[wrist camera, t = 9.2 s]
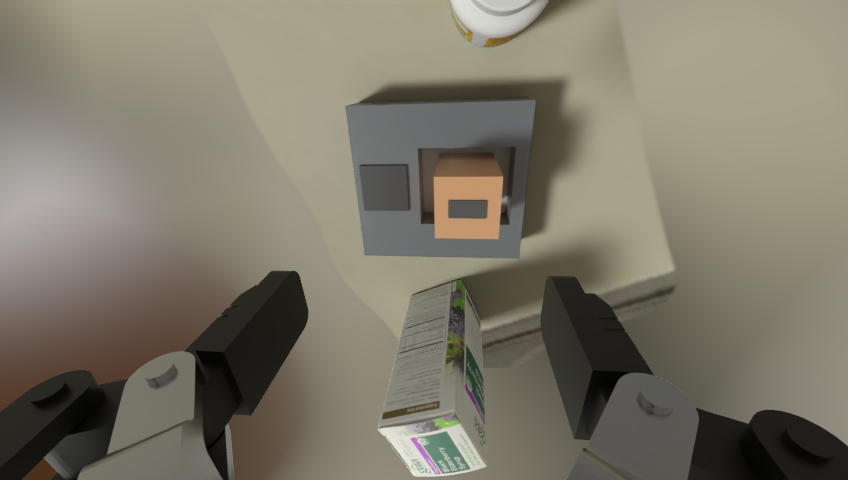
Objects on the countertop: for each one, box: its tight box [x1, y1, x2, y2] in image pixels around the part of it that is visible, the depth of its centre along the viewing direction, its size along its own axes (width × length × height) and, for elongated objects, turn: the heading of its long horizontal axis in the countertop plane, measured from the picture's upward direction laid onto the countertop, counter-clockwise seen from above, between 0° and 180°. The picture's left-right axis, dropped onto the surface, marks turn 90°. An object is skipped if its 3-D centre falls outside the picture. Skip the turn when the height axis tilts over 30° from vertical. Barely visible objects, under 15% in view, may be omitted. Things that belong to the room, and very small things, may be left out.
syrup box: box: [378, 280, 488, 477], centre depth 27 cm, size 6×6×14 cm
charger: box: [434, 153, 503, 239], centre depth 24 cm, size 4×4×7 cm
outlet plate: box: [346, 98, 536, 258], centre depth 26 cm, size 12×13×3 cm
